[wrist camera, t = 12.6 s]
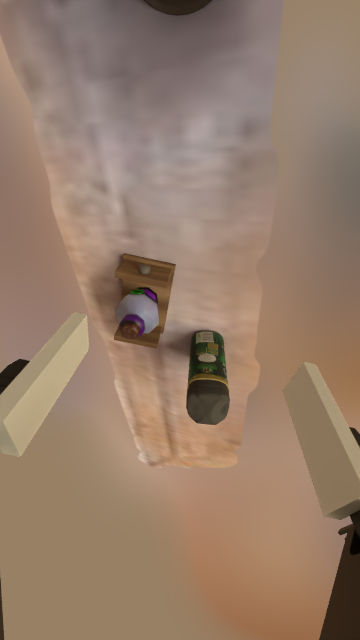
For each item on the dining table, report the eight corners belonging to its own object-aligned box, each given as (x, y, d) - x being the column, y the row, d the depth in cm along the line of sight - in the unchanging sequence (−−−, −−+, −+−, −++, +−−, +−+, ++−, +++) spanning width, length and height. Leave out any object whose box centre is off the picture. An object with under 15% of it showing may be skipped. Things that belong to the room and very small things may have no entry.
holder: (125, 251, 44) (112, 265, 38) (175, 262, 44) (171, 277, 38) (122, 323, 54) (111, 342, 48) (163, 331, 54) (158, 352, 48)
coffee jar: (221, 360, 57) (227, 431, 42) (190, 358, 58) (184, 427, 43) (225, 329, 52) (234, 398, 37) (191, 328, 53) (185, 394, 37)
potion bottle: (152, 273, 44) (137, 303, 35) (172, 308, 48) (163, 344, 39) (117, 288, 47) (93, 321, 37) (138, 320, 51) (122, 357, 41)
